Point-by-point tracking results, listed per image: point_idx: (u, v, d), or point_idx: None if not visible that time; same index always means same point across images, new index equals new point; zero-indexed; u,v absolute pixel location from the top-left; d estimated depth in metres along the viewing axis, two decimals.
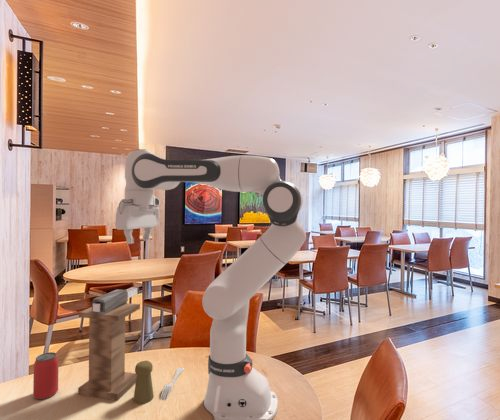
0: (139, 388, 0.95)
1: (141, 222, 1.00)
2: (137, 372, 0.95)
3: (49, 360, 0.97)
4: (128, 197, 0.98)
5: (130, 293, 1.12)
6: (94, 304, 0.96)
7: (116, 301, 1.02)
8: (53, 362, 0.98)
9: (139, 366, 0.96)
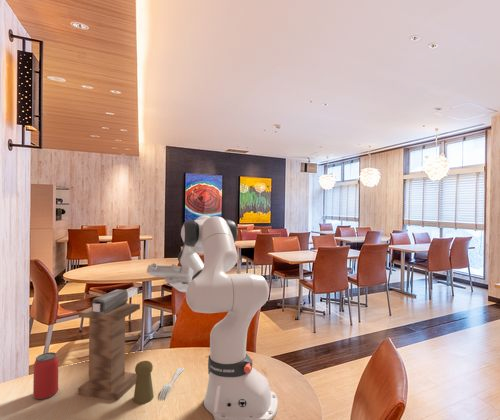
0: (139, 388, 0.95)
1: None
2: (137, 372, 0.95)
3: (49, 360, 0.97)
4: None
5: (130, 293, 1.12)
6: (94, 304, 0.96)
7: (116, 301, 1.02)
8: (53, 362, 0.98)
9: (139, 366, 0.96)
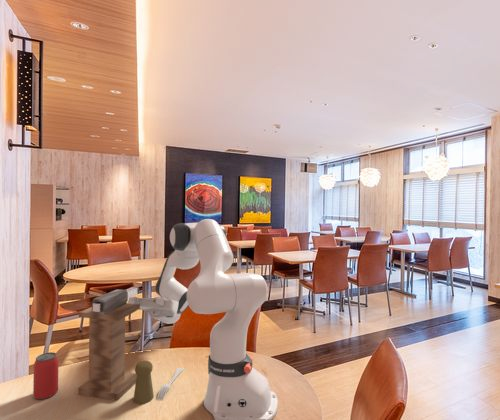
0: (139, 388, 0.95)
1: None
2: (137, 372, 0.95)
3: (49, 360, 0.97)
4: None
5: (130, 293, 1.12)
6: (94, 304, 0.96)
7: (116, 301, 1.02)
8: (53, 362, 0.98)
9: (139, 366, 0.96)
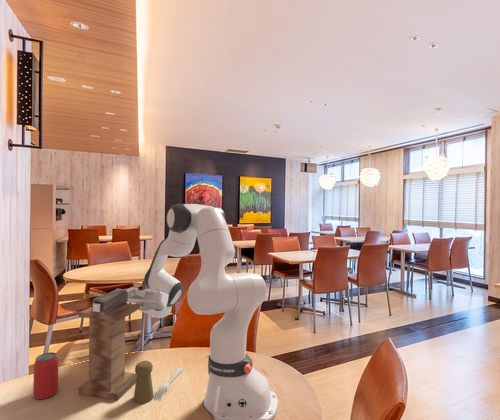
0: (139, 388, 0.95)
1: None
2: (137, 372, 0.95)
3: (49, 360, 0.97)
4: None
5: (130, 293, 1.12)
6: (94, 304, 0.96)
7: (116, 301, 1.02)
8: (53, 362, 0.98)
9: (139, 366, 0.96)
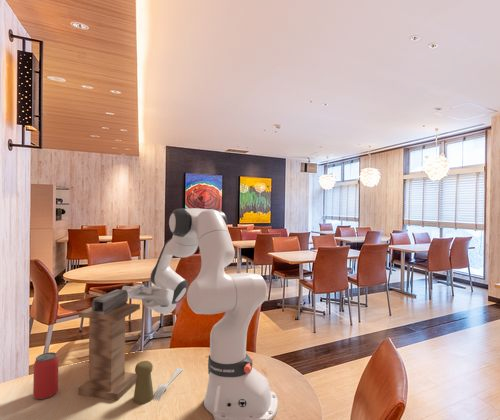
0: (139, 388, 0.95)
1: None
2: (137, 372, 0.95)
3: (49, 360, 0.97)
4: None
5: (137, 289, 1.17)
6: None
7: (116, 301, 1.02)
8: (53, 362, 0.98)
9: (139, 366, 0.96)
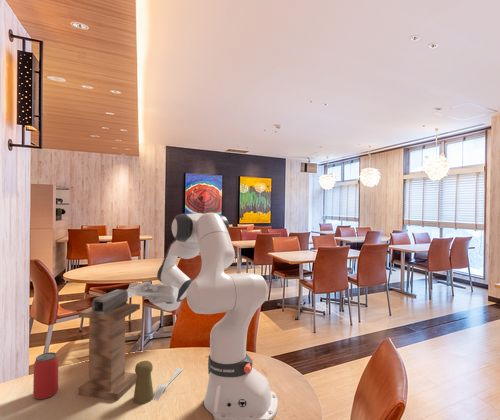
0: (139, 388, 0.95)
1: None
2: (137, 372, 0.95)
3: (49, 360, 0.97)
4: None
5: (144, 286, 1.21)
6: None
7: (116, 301, 1.02)
8: (53, 362, 0.98)
9: (139, 366, 0.96)
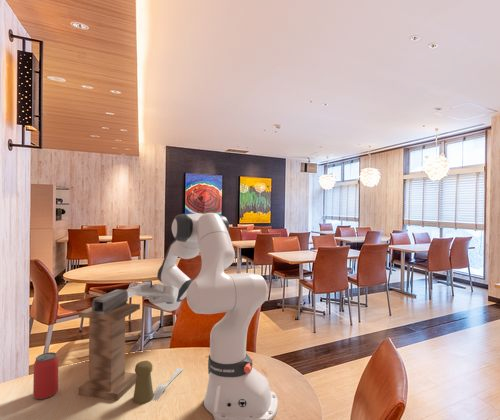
0: (139, 388, 0.95)
1: None
2: (137, 372, 0.95)
3: (49, 360, 0.97)
4: None
5: (144, 286, 1.21)
6: None
7: (116, 301, 1.02)
8: (53, 362, 0.98)
9: (139, 366, 0.96)
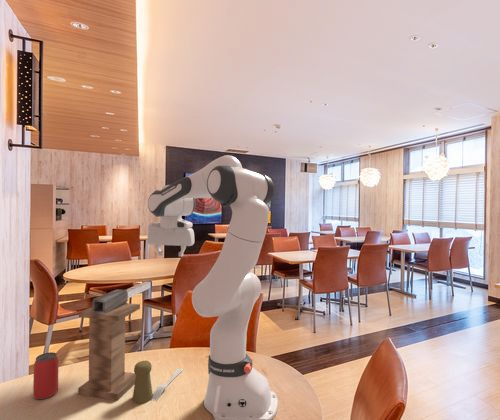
0: (138, 387, 0.95)
1: (165, 240, 1.31)
2: (136, 372, 0.95)
3: (49, 360, 0.97)
4: None
5: (144, 286, 1.21)
6: None
7: (116, 301, 1.02)
8: (53, 362, 0.98)
9: (138, 366, 0.96)
